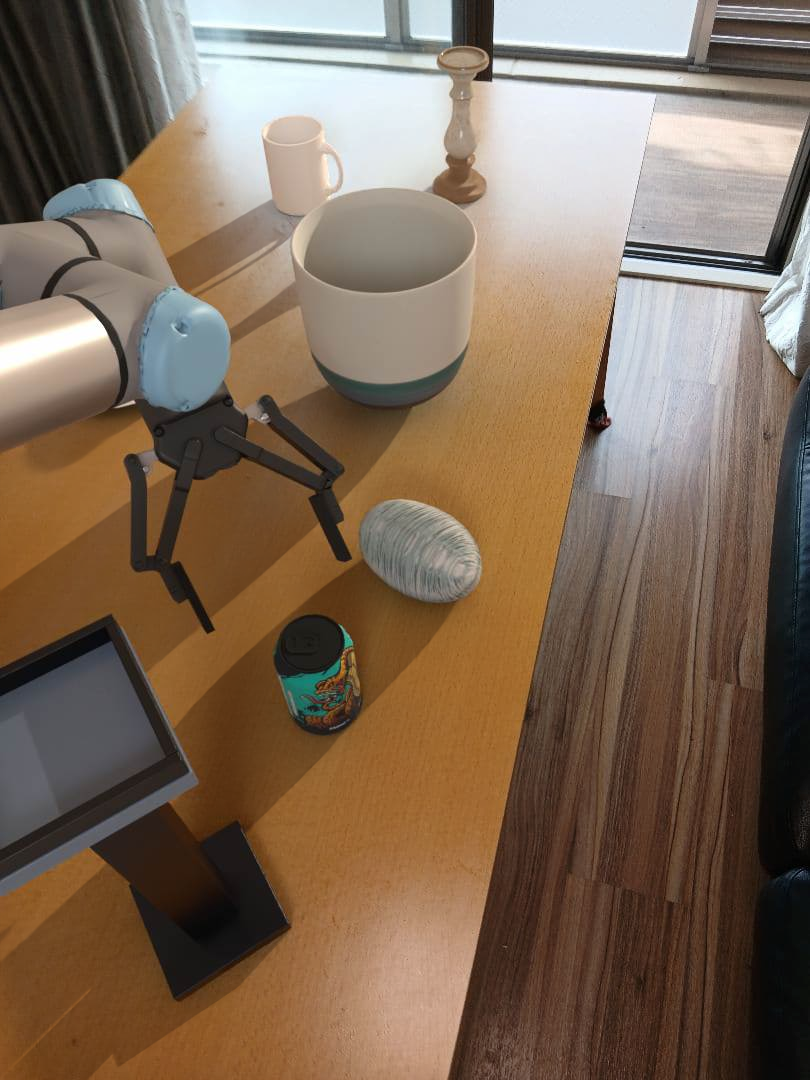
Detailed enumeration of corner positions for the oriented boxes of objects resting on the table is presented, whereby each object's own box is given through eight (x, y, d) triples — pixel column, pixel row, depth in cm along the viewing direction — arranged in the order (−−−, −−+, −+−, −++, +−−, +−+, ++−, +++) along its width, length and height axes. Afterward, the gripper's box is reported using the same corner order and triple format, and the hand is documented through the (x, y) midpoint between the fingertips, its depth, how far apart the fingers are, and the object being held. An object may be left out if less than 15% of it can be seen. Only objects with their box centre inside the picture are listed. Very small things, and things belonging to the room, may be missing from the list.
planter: (284, 413, 103) (254, 266, 86) (358, 320, 114) (344, 173, 97) (431, 461, 97) (429, 314, 80) (494, 358, 108) (504, 209, 91)
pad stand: (178, 1002, 64) (-28, 880, 35) (133, 889, 69) (-79, 703, 41) (292, 928, 67) (185, 760, 38) (240, 825, 72) (112, 610, 44)
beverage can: (360, 739, 76) (349, 679, 67) (286, 738, 77) (265, 679, 67) (364, 672, 81) (354, 607, 71) (294, 672, 81) (275, 607, 71)
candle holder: (497, 187, 134) (505, 54, 118) (462, 210, 130) (465, 75, 114) (457, 169, 138) (460, 38, 121) (422, 190, 134) (419, 58, 118)
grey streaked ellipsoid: (347, 561, 90) (334, 553, 80) (391, 487, 91) (383, 470, 81) (454, 624, 89) (454, 623, 79) (498, 549, 89) (503, 539, 79)
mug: (277, 186, 136) (265, 115, 127) (348, 185, 136) (342, 113, 126) (270, 218, 130) (257, 146, 121) (345, 217, 130) (338, 144, 121)
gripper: (291, 327, 76) (383, 531, 80) (29, 435, 69) (145, 654, 73) (311, 310, 69) (411, 534, 73) (21, 428, 62) (151, 670, 66)
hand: (279, 594), depth 73 cm, fingers open, 13 cm apart
